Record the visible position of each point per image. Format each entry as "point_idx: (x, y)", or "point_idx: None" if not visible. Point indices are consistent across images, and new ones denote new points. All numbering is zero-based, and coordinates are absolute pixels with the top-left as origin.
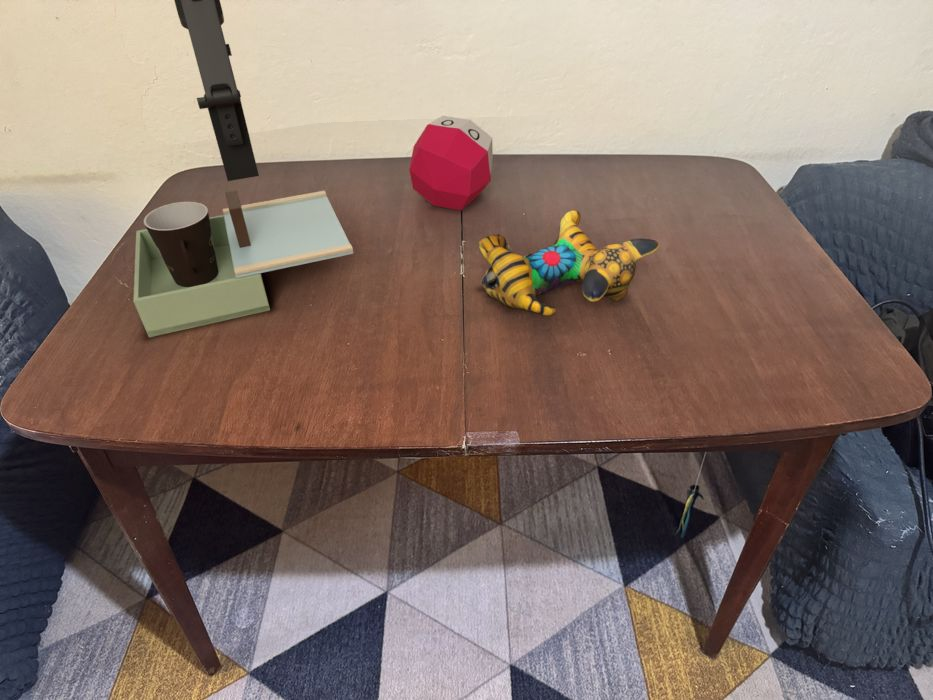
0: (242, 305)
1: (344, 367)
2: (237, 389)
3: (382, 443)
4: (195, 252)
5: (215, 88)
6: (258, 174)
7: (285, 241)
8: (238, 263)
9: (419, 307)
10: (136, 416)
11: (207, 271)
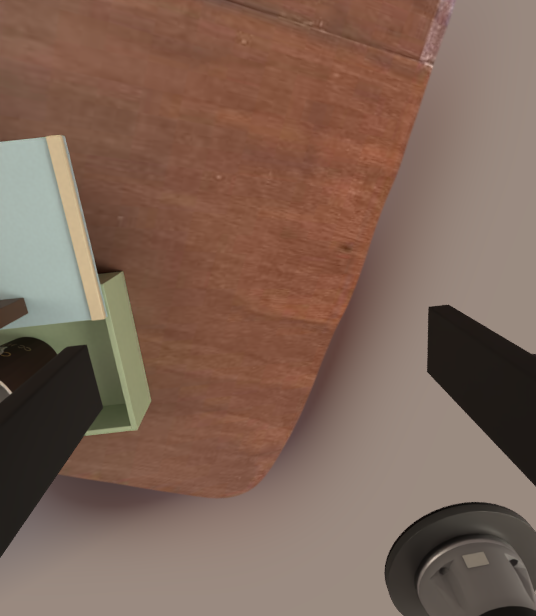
0: (124, 305)
1: (264, 187)
2: (267, 307)
3: (400, 162)
4: (33, 371)
5: (44, 454)
6: (448, 305)
7: (16, 245)
8: (75, 314)
9: (157, 57)
10: (279, 396)
11: (43, 351)
